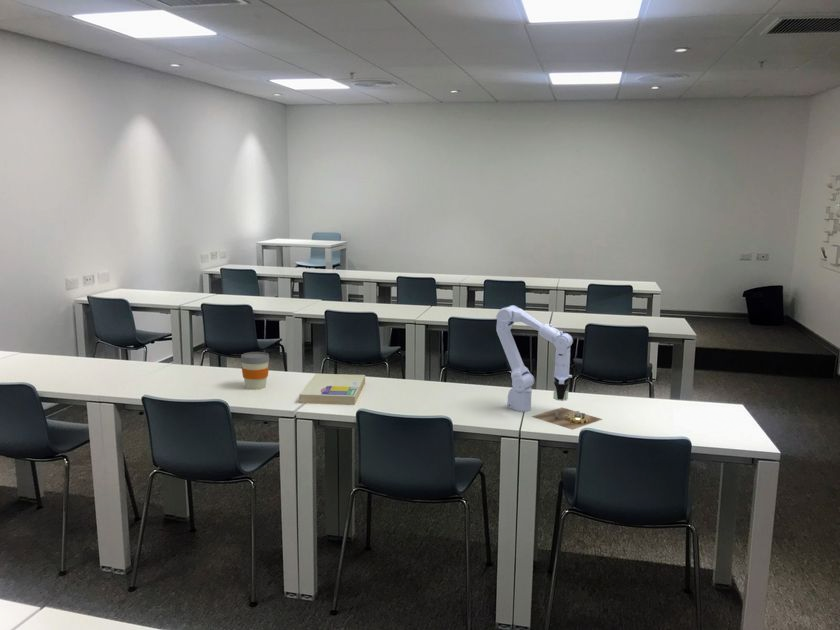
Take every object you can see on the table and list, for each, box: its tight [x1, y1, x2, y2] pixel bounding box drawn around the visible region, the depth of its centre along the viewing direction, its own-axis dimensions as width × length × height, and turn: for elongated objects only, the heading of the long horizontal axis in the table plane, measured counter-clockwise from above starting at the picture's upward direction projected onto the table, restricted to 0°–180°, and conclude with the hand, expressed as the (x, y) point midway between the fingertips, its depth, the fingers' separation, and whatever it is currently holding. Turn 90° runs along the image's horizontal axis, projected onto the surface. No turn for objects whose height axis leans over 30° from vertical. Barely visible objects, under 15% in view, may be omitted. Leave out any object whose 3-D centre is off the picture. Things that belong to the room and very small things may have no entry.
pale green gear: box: [552, 389, 569, 402], centre depth 272 cm, size 6×6×3 cm
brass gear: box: [566, 412, 589, 424], centre depth 268 cm, size 9×9×4 cm
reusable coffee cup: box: [240, 351, 270, 391], centre depth 309 cm, size 13×13×15 cm
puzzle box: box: [298, 373, 366, 406], centre depth 303 cm, size 36×5×24 cm
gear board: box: [531, 407, 603, 430], centre depth 271 cm, size 20×20×5 cm
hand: (560, 397), depth 272 cm, fingers closed on pale green gear, 6 cm apart
